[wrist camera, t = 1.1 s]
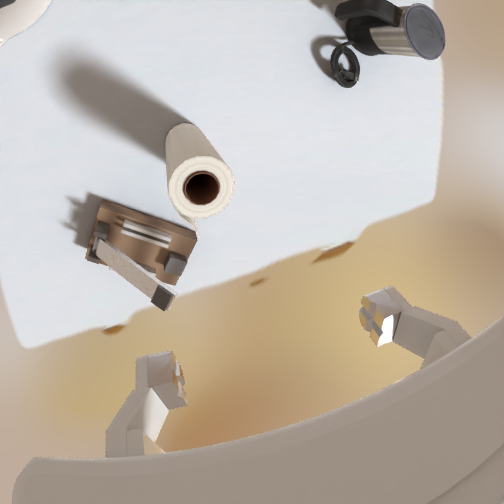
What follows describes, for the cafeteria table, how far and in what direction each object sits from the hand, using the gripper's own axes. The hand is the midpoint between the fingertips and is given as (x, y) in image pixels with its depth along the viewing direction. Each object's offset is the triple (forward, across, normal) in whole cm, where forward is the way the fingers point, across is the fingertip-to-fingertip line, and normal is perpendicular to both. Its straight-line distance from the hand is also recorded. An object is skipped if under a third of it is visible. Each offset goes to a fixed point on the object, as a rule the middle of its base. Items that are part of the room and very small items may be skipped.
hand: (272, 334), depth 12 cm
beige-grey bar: (+30, +13, +13) cm, 35 cm away
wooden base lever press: (+39, +13, +14) cm, 43 cm away
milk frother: (+39, -30, -14) cm, 51 cm away
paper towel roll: (+39, +2, -1) cm, 39 cm away
